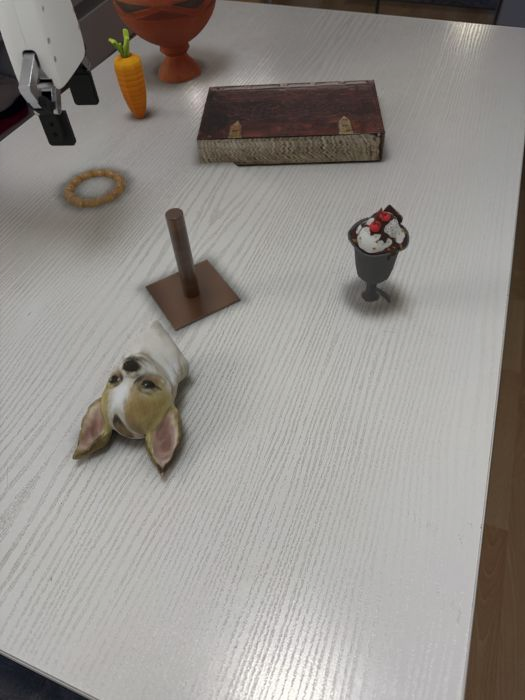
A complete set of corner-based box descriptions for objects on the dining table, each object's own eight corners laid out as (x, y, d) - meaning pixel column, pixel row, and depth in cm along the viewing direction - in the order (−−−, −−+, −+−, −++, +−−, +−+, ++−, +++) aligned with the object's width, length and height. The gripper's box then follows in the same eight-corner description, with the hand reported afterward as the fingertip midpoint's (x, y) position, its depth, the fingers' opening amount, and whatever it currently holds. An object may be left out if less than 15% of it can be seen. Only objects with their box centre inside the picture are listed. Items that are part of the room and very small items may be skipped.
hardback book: (371, 105, 98) (374, 76, 94) (381, 162, 86) (385, 132, 82) (212, 111, 100) (209, 83, 96) (201, 168, 88) (196, 139, 84)
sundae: (355, 326, 64) (366, 224, 53) (334, 289, 69) (341, 186, 57) (406, 313, 65) (428, 209, 54) (383, 277, 70) (398, 173, 58)
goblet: (113, 79, 111) (73, -70, 92) (182, 46, 120) (158, -97, 100) (175, 106, 102) (145, -54, 83) (245, 68, 111) (232, -85, 92)
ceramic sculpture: (202, 315, 55) (153, 449, 46) (215, 364, 62) (175, 488, 53) (105, 304, 57) (42, 430, 48) (128, 352, 64) (77, 470, 55)
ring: (77, 219, 81) (74, 210, 80) (58, 189, 87) (54, 180, 86) (136, 197, 84) (134, 188, 83) (114, 169, 90) (111, 160, 88)
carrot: (134, 130, 97) (112, 40, 86) (123, 119, 100) (100, 31, 89) (159, 121, 99) (140, 32, 87) (147, 111, 102) (127, 23, 90)
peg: (176, 336, 65) (153, 251, 55) (146, 292, 70) (120, 207, 60) (241, 305, 68) (230, 218, 58) (207, 265, 73) (192, 180, 63)
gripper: (16, -66, 60) (68, 91, 73) (-56, -10, 49) (21, 162, 62) (82, -69, 59) (123, 89, 72) (24, -13, 48) (85, 162, 61)
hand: (76, 123), depth 67 cm, fingers open, 9 cm apart
